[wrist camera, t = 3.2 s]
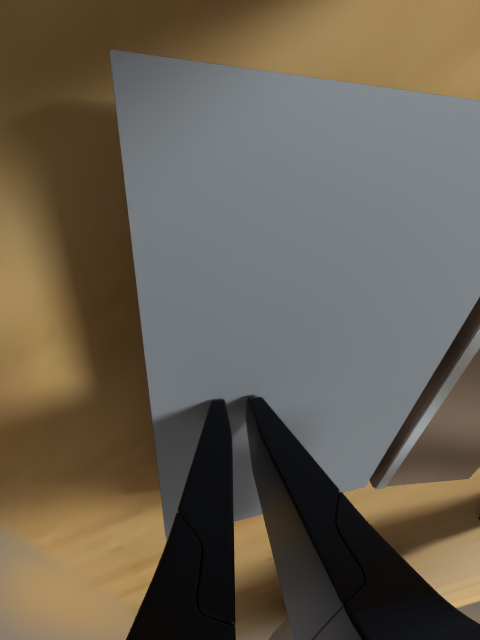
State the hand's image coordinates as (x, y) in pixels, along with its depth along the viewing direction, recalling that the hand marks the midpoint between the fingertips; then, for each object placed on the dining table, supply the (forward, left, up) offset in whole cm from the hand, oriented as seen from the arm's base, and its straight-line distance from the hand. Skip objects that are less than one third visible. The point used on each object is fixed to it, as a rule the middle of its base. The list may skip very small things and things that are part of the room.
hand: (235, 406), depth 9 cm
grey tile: (0, -2, -2) cm, 3 cm away
